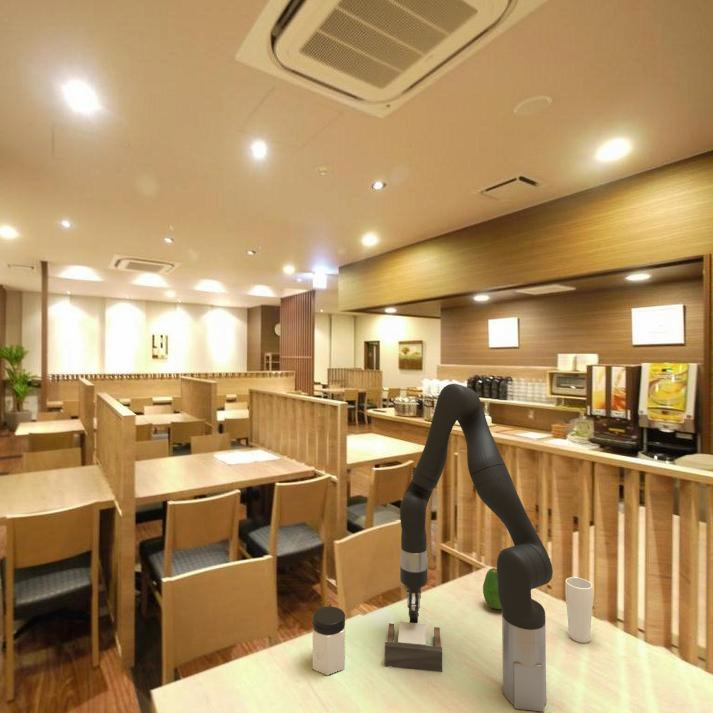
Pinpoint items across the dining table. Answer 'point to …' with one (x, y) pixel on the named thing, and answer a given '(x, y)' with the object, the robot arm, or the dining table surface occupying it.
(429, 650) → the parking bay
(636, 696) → the dining table surface
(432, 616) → the dining table surface
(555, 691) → the dining table surface
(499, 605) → the avocado
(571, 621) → the drinking glass
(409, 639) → the white rectangular block
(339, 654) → the jar
